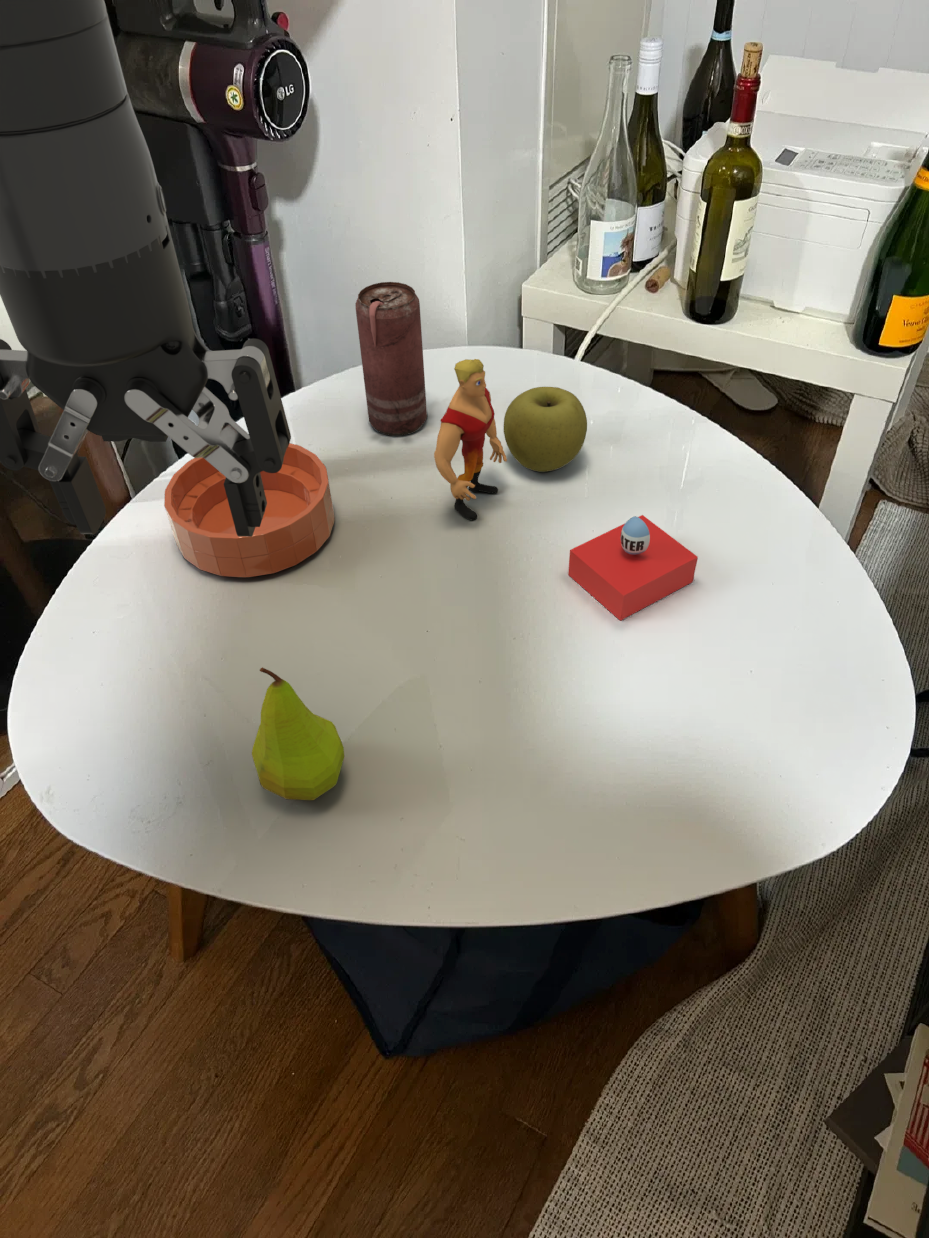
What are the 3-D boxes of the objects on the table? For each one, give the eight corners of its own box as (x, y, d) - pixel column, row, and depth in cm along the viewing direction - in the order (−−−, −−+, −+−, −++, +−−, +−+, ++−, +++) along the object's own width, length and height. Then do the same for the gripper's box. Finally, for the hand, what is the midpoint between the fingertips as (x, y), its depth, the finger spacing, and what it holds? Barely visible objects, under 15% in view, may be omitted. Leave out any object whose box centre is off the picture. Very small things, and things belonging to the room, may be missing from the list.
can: (360, 435, 95) (344, 307, 85) (379, 402, 99) (365, 276, 89) (417, 442, 94) (407, 312, 84) (433, 408, 98) (426, 281, 88)
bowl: (207, 603, 78) (194, 559, 74) (159, 514, 87) (144, 470, 83) (360, 546, 82) (354, 501, 79) (299, 466, 91) (291, 423, 88)
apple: (574, 491, 87) (579, 427, 82) (493, 477, 89) (493, 413, 84) (591, 446, 92) (597, 383, 87) (514, 434, 94) (515, 372, 89)
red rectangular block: (620, 620, 75) (627, 562, 70) (568, 574, 79) (572, 516, 75) (692, 581, 78) (704, 523, 73) (639, 539, 82) (647, 482, 78)
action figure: (468, 537, 83) (463, 390, 72) (433, 526, 84) (423, 380, 74) (513, 480, 89) (515, 336, 78) (480, 470, 90) (477, 327, 79)
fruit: (368, 781, 64) (347, 666, 56) (296, 835, 62) (263, 723, 53) (313, 729, 68) (286, 614, 59) (242, 778, 65) (203, 664, 56)
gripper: (-137, 264, 36) (17, 570, 48) (219, 262, 35) (288, 575, 47) (-52, 191, 41) (68, 483, 53) (260, 188, 41) (313, 485, 52)
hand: (172, 526), depth 50 cm, fingers open, 8 cm apart
